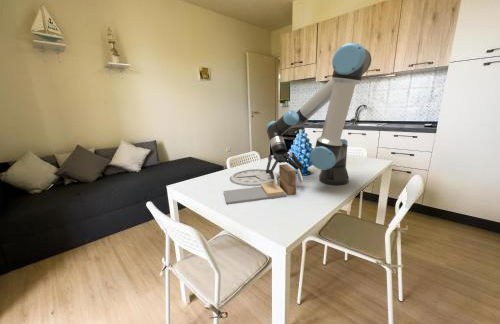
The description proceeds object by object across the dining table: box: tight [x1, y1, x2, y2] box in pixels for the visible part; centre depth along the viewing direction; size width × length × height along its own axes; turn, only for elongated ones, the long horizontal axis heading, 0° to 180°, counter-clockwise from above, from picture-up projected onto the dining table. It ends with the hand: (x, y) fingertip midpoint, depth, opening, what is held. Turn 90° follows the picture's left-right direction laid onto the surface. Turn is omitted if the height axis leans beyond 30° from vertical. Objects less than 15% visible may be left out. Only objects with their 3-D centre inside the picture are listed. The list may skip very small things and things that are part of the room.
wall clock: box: [229, 168, 279, 187], centre depth 132 cm, size 30×2×30 cm
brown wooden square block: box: [278, 163, 297, 197], centre depth 108 cm, size 4×12×12 cm, turn 12°
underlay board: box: [223, 183, 288, 205], centre depth 106 cm, size 28×14×2 cm, turn 101°
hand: (289, 183), depth 106 cm, fingers open, 12 cm apart
